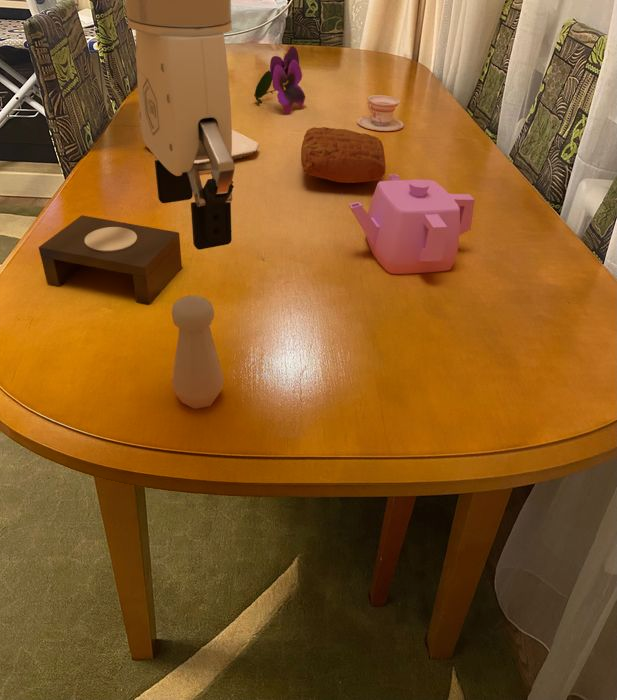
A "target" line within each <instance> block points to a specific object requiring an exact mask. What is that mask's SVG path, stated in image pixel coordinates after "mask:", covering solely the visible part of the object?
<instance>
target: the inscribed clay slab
mask: <svg viewBox="0 0 617 700" xmlns="http://www.w3.org/2000/svg"><path fill="white" fill-rule="evenodd" d="M384 148H385V147H384V145H383V142H382V140H381V139H379V138H378V137H376V136H374V135H371V134H369V133H363V132H362V133H361V132H357V131H353V130H350V129H344V128H333V127H327V126H323V127H313V126H312V127H311V128H309V129H307V130H306V132H305V134H304V136H303V140H302V143H301V148H300V162H301V163H300V164H301V167H302V170H303V172H304V173H305V174H307V175H309V176H311V177H312V176H313V177H316V178H319V179H324V180H328V181H332V182H337V183H343V184H344V183H345V184H347V183H348V184H352V183H353V184H354V183H355V184H356V183H368V182H374V181H377V180H380V179H382V178H384V176H385V174H386V155H385V149H384Z"/></svg>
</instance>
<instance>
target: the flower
mask: <svg viewBox="0 0 617 700" xmlns="http://www.w3.org/2000/svg"><path fill="white" fill-rule="evenodd" d="M302 78H303V72H302V69H301V65H300V57H299V53H298V50H297V48H296V47H295V46H294V45H293V46H290V47H289V49H288V50H287V52H286V54H285V55H284V57H283V59H282V58H281V57H280V56H278V55H273V56H272V57H271V58H270V62H269V70H268V71H266V72H265V73H264V74H263V75H262V76H261V78H260V79H259V82H257V85H256V87H255V90H254V94H253V96H254V98H255V100H256V101H257V102H258V103H259V104H263V100H261V98H263V97H264V96H266V95H267V94H269V93H270V94H274V92H277V94H276V97H277V101H278V103H279V104H281V106H283V113H284V115H291V114H292V109H293V105H294V104H297V106H299V107H300V108H301V109H303V107H304V103H305V100H306V94H305V91H304V90H303V89H302V87H301V86H300V85H299V83H300V82H301V81H302ZM271 86H272V88H273V90H270V87H271ZM269 90H270V91H269Z"/></svg>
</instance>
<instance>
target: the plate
mask: <svg viewBox="0 0 617 700" xmlns="http://www.w3.org/2000/svg"><path fill="white" fill-rule="evenodd" d="M259 146H260V144H259V142H257V141H256V140H254V139H252V138H250V137H248V136H246V135H244V134H242V133H240V132H239V131H236V130H235V129H232V155H231V157H232V159H233V161H236V160H239V159H244V158H247V157H248V156H250V155H252V154H254V153H256V152H257V151H258V149H259ZM207 162H210V161H209V159H204V160H196V161H194V164H199V163H207Z"/></svg>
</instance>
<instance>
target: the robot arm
mask: <svg viewBox="0 0 617 700" xmlns="http://www.w3.org/2000/svg"><path fill="white" fill-rule="evenodd" d="M124 1H125V11H126V16H127V17H126V18H127V19H126V20H127V26H128V28H130V29H131V30H133V31H135V60H136V61H135V64H136V81H137V82H136V84H137V96H138V109H139V124H140V125H139V126H140V134H141V138H142V141H143V143H144V145H145V146H146V147H147V148H148V150H149V151H150V152H151V153H152V154H153V155H154V158H155V160H154V167H155V168H154V170H155V178H156V189H157V198H158V200H159V202H160V203H161V204H169V203H176V202H182V201H189V200H192V199H193V198H194V201H193V202H190V214H191V227H192V228H191V229H192V243H193V244H192V245H193V247H195V249H197V250H198V251H199V250H205V249H211V248H216V247H220V246H221V247H222V246H226V245H229V244H231V243H232V240H233V239H232V237H233V235H232V202H233V189H234V187H235V186H234V185H233V184H234V181H233V180H234V179H233V178H234V175H235V169H236V167H235V162H234V161H235V160H233V159H232V157H231V155H232V130H233V129H232V128H233V127H232V125H233V124H232V107H231V94H230V93H231V92H230V79H229V68H228V59H227V49H226V42H225V41H226V40H225V34H226V33H228V32H230V31H232V28H233V27H232V0H124ZM204 159H209V161H210V162H207V163H199V164H194V161H196V160H204ZM206 175H211V178H208V179H207V180H206V183H205V184H204V186H203V184H202V180H201V176H206Z"/></svg>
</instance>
